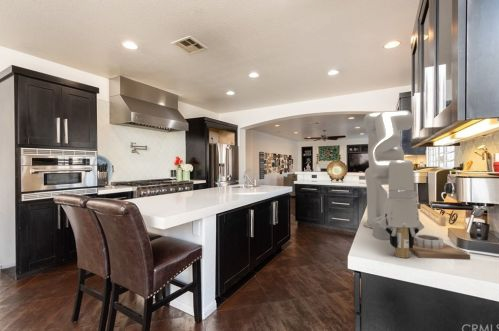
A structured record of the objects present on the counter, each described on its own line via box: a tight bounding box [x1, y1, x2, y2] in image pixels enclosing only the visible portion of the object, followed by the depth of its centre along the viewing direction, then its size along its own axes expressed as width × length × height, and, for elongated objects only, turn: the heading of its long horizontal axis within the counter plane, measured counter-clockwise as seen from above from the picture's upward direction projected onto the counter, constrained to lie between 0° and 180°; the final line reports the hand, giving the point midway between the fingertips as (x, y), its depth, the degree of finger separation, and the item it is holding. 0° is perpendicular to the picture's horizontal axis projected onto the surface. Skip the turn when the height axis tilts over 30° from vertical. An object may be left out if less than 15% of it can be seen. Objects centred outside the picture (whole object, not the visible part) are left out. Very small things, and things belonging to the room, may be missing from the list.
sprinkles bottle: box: [394, 223, 410, 259], centre depth 85 cm, size 5×5×13 cm
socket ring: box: [414, 233, 444, 250], centre depth 91 cm, size 9×9×3 cm
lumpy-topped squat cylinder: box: [372, 216, 390, 241], centre depth 109 cm, size 10×13×9 cm
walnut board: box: [409, 242, 471, 260], centre depth 91 cm, size 18×16×2 cm
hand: (401, 246), depth 85 cm, fingers closed on sprinkles bottle, 4 cm apart
